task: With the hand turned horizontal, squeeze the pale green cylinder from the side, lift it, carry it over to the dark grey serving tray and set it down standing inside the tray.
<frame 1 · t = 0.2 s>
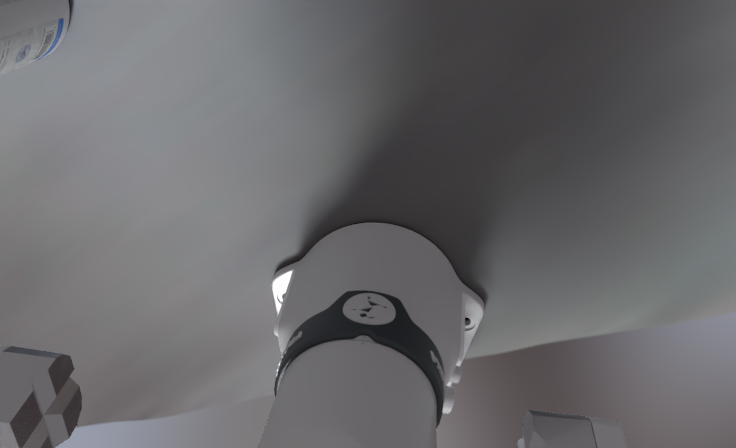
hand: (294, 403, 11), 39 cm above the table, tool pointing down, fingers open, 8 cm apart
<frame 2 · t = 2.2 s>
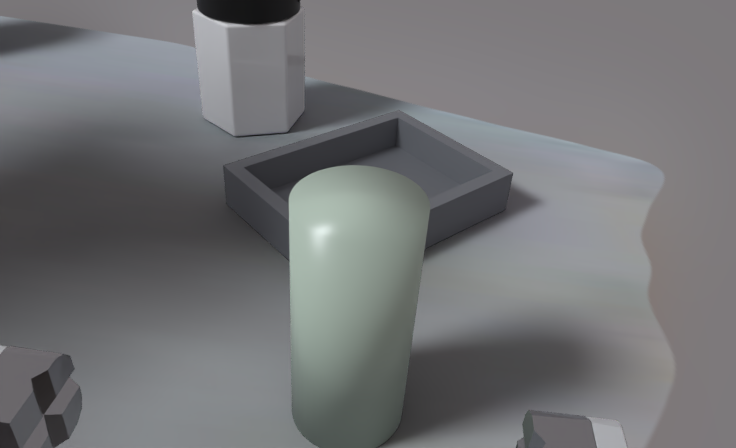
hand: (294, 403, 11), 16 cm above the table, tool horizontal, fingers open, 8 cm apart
tray: (367, 206, 46), on the table
pale green cylinder: (347, 405, 31), on the table
jar: (255, 117, 57), on the table
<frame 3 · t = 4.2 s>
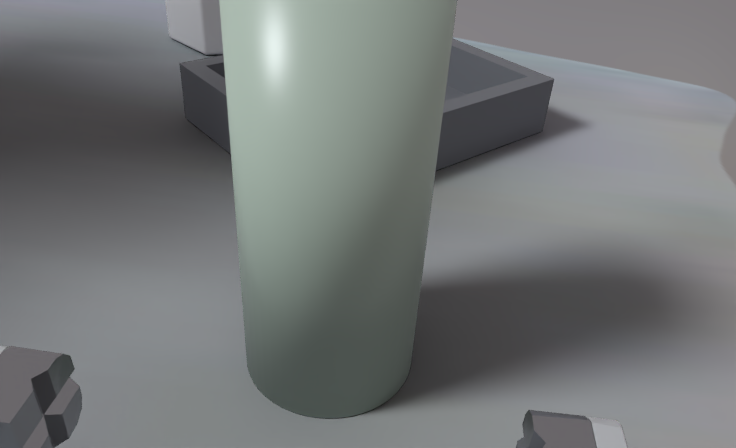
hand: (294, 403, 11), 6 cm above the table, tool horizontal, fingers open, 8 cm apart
tray: (366, 124, 36), on the table
pale green cylinder: (329, 351, 21), on the table
jar: (233, 39, 47), on the table
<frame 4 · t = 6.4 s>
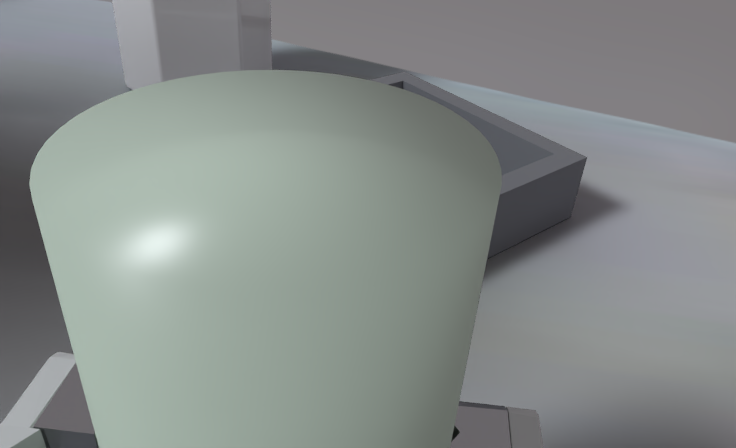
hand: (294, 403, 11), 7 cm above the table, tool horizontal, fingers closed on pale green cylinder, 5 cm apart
tray: (354, 210, 29), on the table
jar: (201, 87, 40), on the table
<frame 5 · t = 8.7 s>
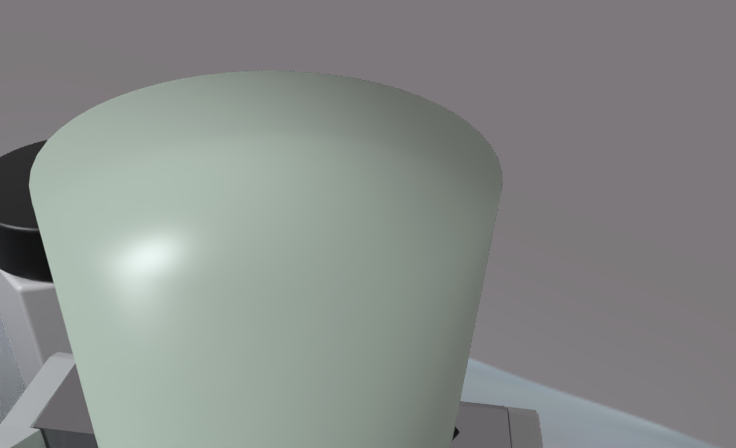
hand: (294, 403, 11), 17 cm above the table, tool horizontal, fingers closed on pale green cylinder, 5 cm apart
jar: (121, 377, 34), on the table
when the fingers open (9 cm above the table, at t = 11.0 s): pale green cylinder drops 2 cm, resting on tray.
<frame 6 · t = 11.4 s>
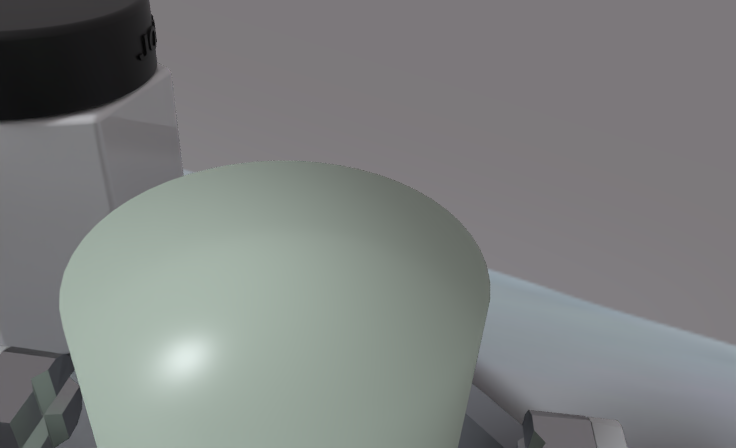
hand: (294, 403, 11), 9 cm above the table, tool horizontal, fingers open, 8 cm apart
jar: (85, 292, 27), on the table
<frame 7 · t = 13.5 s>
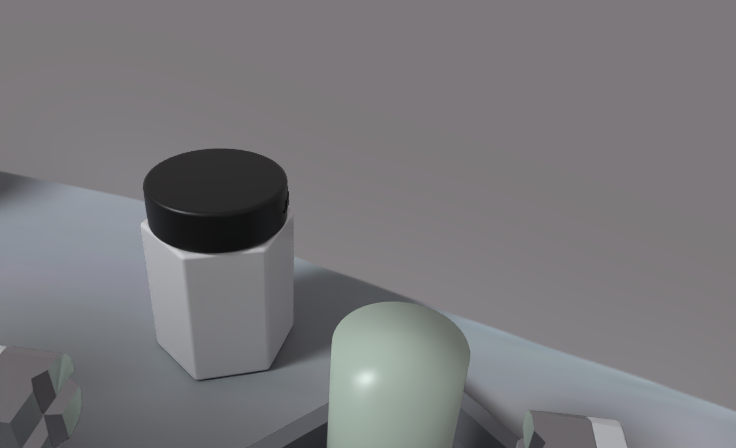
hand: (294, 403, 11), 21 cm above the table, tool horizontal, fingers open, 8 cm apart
jar: (227, 337, 43), on the table
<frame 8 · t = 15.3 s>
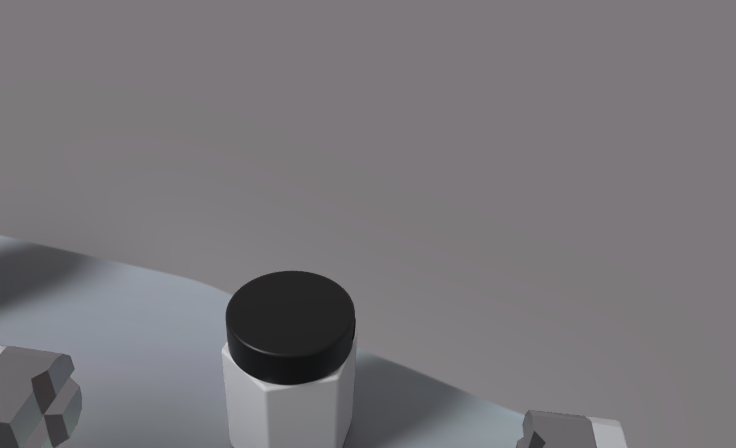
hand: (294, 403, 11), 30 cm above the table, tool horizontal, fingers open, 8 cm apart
jar: (292, 434, 47), on the table
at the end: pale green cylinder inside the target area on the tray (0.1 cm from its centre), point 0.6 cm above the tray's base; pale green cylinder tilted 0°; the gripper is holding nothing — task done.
